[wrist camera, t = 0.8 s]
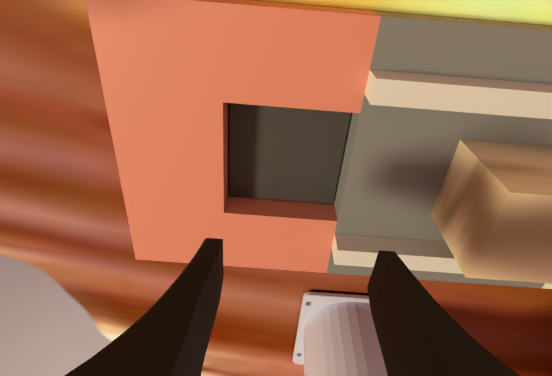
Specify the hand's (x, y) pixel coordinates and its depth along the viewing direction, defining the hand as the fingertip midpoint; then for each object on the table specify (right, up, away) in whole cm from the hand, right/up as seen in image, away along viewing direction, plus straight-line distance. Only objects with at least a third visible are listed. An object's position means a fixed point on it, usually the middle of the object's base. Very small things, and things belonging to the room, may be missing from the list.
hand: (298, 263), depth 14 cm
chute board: (+11, +4, +8) cm, 14 cm away
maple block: (+11, +3, +6) cm, 13 cm away
